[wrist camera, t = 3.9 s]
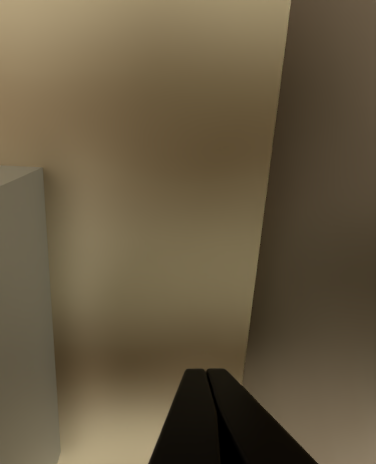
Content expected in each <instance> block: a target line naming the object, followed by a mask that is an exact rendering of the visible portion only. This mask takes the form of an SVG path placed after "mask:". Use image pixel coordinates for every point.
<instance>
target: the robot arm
mask: <svg viewBox="0 0 376 464" xmlns="http://www.w3.org/2000/svg"><path fill="white" fill-rule="evenodd" d="M148 464H318V463H317V462H316V461H315V460H314V459H313V458H312V457H311V456H310V455H309V454H308V453H307V452H306V451H305V450H304V449H303V448H302V447H301V446H300V445H299V444H298V442H297V441H296V440H295V439H294V438H293V437H292V436H291V435H290V434H289V433H288V432H287V431H286V430H285V429H284V428H283V427H282V426H281V425H280V424H279V423H278V422H277V421H276V420H275V419H274V418H273V417H272V416H271V415H270V414H269V413H268V412H267V411H266V410H265V409H264V408H263V407H262V406H261V405H260V403H259V402H258V401H257V400H256V399H255V398H254V397H253V396H252V395H251V394H250V393H249V392H248V391H247V390H246V389H245V388H244V387H243V386H242V385H241V384H240V383H239V382H238V381H237V380H236V379H235V378H234V377H233V376H232V375H231V374H230V373H229V372H228V371H227V370H226V369H224V368H209V369H207V370H206V371H205V370H204V369H202V368H196V369H186V370H185V371H184V374H183V376H182V379H181V381H180V384H179V386H178V389H177V391H176V394H175V397H174V399H173V402H172V404H171V407H170V409H169V412H168V414H167V417H166V419H165V422H164V425H163V427H162V430H161V432H160V435H159V437H158V440H157V442H156V445H155V447H154V450H153V453H152V455H151V458H150V460H149V463H148Z"/></svg>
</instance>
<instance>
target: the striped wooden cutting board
mask: <svg viewBox="0 0 376 464" xmlns="http://www.w3.org/2000/svg"><path fill="white" fill-rule="evenodd" d="M290 6H291V0H0V165H2V166H24V167H43V180H44V195H45V211H46V227H47V243H48V259H49V275H50V290H51V306H52V322H53V338H54V354H55V369H56V385H57V401H58V417H59V433H60V448H61V453H60V456H59V460H58V463H57V464H148V463H149V460H150V458H151V455H152V453H153V450H154V447H155V445H156V442H157V440H158V437H159V435H160V432H161V430H162V427H163V425H164V422H165V419H166V417H167V414H168V412H169V409H170V407H171V404H172V402H173V399H174V397H175V394H176V391H177V389H178V386H179V384H180V381H181V379H182V376H183V374H184V371H185V370H186V369H196V368H202V369H204V370H205V371H206V370H207V369H209V368H224V369H226V370H227V371H228V372H229V373H230V374H231V375H232V376H233V377H234V378H235V379H236V380H237V381H238V382H239V383H240V384H241V385H242V381H243V373H244V365H245V358H246V350H247V342H248V334H249V326H250V319H251V311H252V303H253V295H254V287H255V279H256V272H257V264H258V256H259V248H260V240H261V233H262V225H263V217H264V209H265V201H266V193H267V186H268V178H269V170H270V162H271V154H272V147H273V139H274V131H275V123H276V115H277V107H278V100H279V92H280V84H281V76H282V68H283V60H284V53H285V45H286V37H287V29H288V21H289V14H290Z"/></svg>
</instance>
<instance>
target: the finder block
mask: <svg viewBox="0 0 376 464" xmlns="http://www.w3.org/2000/svg"><path fill="white" fill-rule="evenodd" d="M60 453H61V448H60V433H59V417H58V401H57V385H56V369H55V354H54V338H53V322H52V306H51V290H50V275H49V259H48V243H47V227H46V211H45V195H44V180H43V167H24V166H2V165H0V464H57V463H58V460H59V456H60Z"/></svg>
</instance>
